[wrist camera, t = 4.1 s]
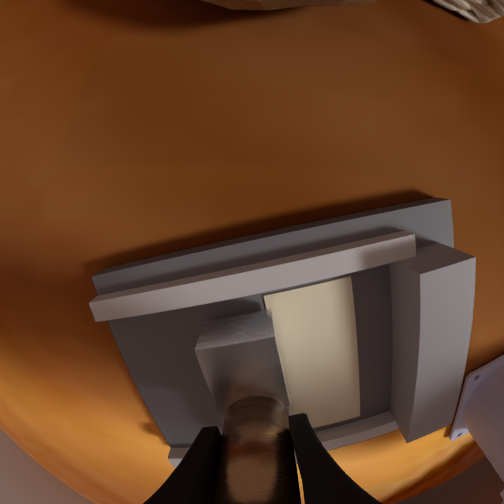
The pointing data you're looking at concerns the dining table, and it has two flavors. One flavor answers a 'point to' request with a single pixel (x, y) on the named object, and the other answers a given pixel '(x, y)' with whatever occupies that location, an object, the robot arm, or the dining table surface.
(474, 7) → the storage basket
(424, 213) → the base
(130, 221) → the dining table surface
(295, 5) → the potato
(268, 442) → the press handle
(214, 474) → the robot arm
